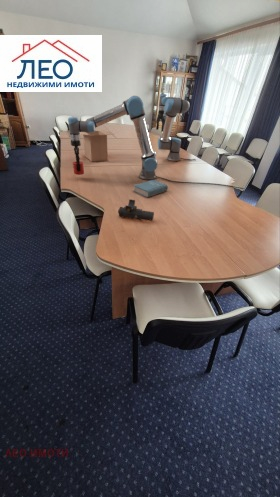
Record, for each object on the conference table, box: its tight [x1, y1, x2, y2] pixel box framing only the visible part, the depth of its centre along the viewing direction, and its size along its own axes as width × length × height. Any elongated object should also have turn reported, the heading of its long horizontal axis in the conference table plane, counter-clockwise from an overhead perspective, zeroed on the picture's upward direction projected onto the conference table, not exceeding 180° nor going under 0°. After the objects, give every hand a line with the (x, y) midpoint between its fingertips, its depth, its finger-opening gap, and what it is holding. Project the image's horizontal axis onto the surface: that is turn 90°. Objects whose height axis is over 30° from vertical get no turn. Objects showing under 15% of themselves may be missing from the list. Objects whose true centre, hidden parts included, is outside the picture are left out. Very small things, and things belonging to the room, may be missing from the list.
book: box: [133, 179, 169, 198], centre depth 177 cm, size 23×16×5 cm
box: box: [79, 128, 115, 162], centre depth 240 cm, size 44×36×27 cm
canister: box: [72, 160, 85, 176], centre depth 186 cm, size 8×8×9 cm
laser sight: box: [117, 199, 155, 222], centre depth 138 cm, size 10×22×10 cm, turn 78°
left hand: (78, 169), depth 187 cm, fingers closed on canister, 8 cm apart
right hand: (159, 130), depth 269 cm, fingers open, 13 cm apart
